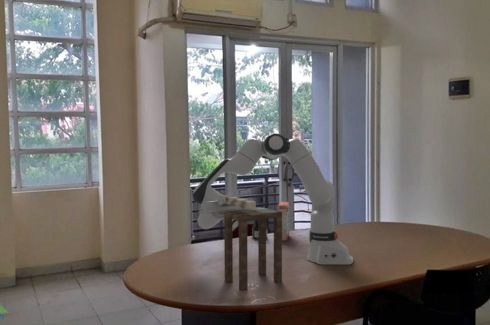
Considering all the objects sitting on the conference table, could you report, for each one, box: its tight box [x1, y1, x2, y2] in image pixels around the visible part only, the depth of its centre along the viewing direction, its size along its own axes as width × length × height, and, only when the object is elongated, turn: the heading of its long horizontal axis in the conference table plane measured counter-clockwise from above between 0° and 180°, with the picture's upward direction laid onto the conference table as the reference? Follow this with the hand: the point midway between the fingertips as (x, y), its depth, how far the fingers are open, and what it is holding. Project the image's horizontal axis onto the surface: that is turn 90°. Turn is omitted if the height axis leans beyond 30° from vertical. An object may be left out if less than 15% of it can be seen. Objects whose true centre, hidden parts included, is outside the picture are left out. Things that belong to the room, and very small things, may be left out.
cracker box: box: [277, 201, 291, 242], centre depth 271 cm, size 14×6×21 cm, turn 168°
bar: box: [221, 194, 257, 210], centre depth 194 cm, size 22×4×3 cm, turn 33°
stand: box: [223, 206, 283, 292], centre depth 194 cm, size 14×20×30 cm
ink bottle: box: [251, 220, 268, 240], centre depth 272 cm, size 10×9×12 cm
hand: (230, 199), depth 199 cm, fingers closed on bar, 3 cm apart
